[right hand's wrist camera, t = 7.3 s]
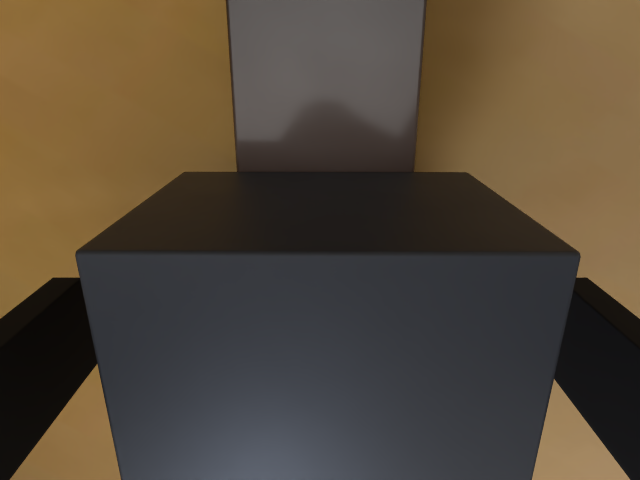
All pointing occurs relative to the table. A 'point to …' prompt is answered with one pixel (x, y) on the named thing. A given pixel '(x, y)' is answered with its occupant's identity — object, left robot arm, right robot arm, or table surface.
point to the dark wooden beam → (325, 84)
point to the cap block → (327, 328)
